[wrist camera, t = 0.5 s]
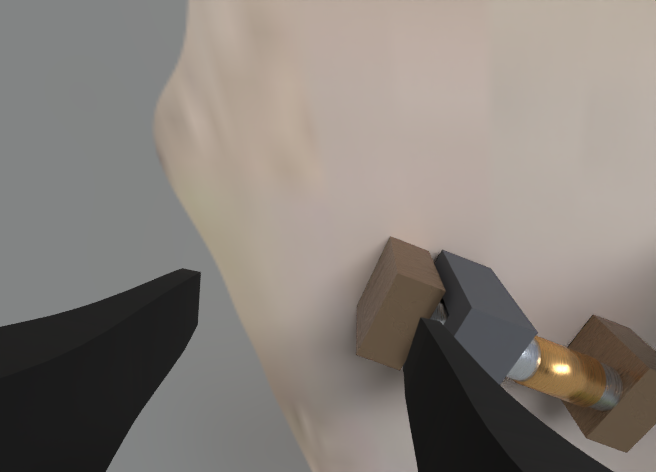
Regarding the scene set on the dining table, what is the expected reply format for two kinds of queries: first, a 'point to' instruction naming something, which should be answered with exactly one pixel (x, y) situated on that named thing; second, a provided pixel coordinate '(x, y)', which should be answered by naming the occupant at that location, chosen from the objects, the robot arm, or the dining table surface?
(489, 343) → the gray square nut
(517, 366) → the brown dumbbell
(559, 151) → the dining table surface
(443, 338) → the robot arm
